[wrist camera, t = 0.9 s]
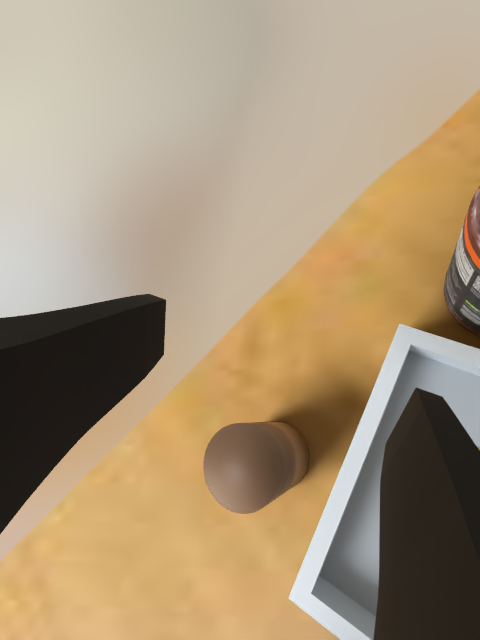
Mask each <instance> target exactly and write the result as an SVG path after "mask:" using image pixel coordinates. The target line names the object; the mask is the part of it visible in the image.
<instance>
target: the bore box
mask: <svg viewBox="0 0 480 640" xmlns="http://www.w3.org/2000/svg"><path fill="white" fill-rule="evenodd" d="M415 388H419V389H422V390H425V391H428V392H431V393H434V394H436V395H439V396H442V397H443V398H444V399H445V401H446V402H447V403H448V405H449V406H450V408H451V409H452V411H453V412H454V414H455V415H456V417H457V418H458V419H459V421H460V422H461V424H462V425H463V427H464V428H465V430H466V431H467V433H468V434H469V436H470V437H471V439H472V440H473V442H474V443H475V445H476V446H477V447H479V448H480V349H478V348H474V347H471V346H468V345H465V344H462V343H459V342H456V341H452V340H449V339H446V338H443V337H440V336H437V335H434V334H431V333H427V332H424V331H421V330H418V329H415V328H412V327H409V326H405V325H402V324H399V326H398V329H397V331H396V334H395V336H394V339H393V341H392V344H391V346H390V349H389V351H388V354H387V356H386V359H385V361H384V363H383V366H382V368H381V371H380V373H379V376H378V378H377V381H376V383H375V386H374V388H373V391H372V393H371V396H370V398H369V400H368V403H367V405H366V408H365V410H364V413H363V415H362V418H361V420H360V423H359V425H358V428H357V430H356V433H355V435H354V438H353V440H352V442H351V445H350V447H349V450H348V452H347V455H346V457H345V460H344V462H343V465H342V467H341V470H340V472H339V475H338V477H337V479H336V482H335V484H334V487H333V489H332V492H331V494H330V497H329V499H328V502H327V504H326V507H325V509H324V512H323V514H322V517H321V519H320V521H319V524H318V526H317V529H316V531H315V534H314V536H313V539H312V541H311V544H310V546H309V549H308V551H307V554H306V556H305V558H304V561H303V563H302V566H301V568H300V571H299V573H298V576H297V578H296V581H295V583H294V586H293V588H292V591H291V593H290V596H289V599H290V600H291V601H293V602H294V603H295V604H296V605H298V606H299V607H300V608H301V609H303V610H304V611H305V612H306V613H308V614H309V615H310V616H311V617H313V618H314V619H315V620H316V621H318V622H319V623H320V624H321V625H323V626H324V627H325V628H326V629H328V630H329V631H330V632H331V633H333V634H334V635H335V636H336V637H338V638H339V639H340V640H373V638H374V629H375V620H376V611H377V601H378V586H379V531H380V478H381V470H382V463H383V457H384V450H385V444H386V442H387V440H388V438H389V436H390V434H391V433H392V431H393V429H394V427H395V425H396V423H397V421H398V419H399V418H400V416H401V414H402V412H403V410H404V408H405V406H406V405H407V403H408V401H409V399H410V397H411V395H412V393H413V392H414V390H415Z"/></svg>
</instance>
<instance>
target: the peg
mask: <svg viewBox="0 0 480 640" xmlns="http://www.w3.org/2000/svg"><path fill="white" fill-rule="evenodd" d="M308 464H309V451H308V447H307V444H306V442H305V440H304V438H303V436H302V435H301V434H300V433H299V432H298V431H297V430H296V429H295V428H294V427H292V426H291V425H289V424H286V423H283V422H257V423H236V424H231V425H228V426H226V427H224V428H222V429H221V430H219V431H218V432H217V433H216V434H215V435H214V436H213V438H212V439H211V441H210V442H209V444H208V446H207V449H206V452H205V456H204V476H205V480H206V484H207V486H208V489H209V491H210V492H211V494H212V496H213V497H214V498H215V500H216V501H217V502H218V503H219V504H220V505H222V506H223V507H224V508H226V509H228V510H230V511H232V512H235V513H241V514H248V513H253V512H256V511H258V510H260V509H262V508H263V507H265V506H266V505H267V504H269V503H270V502H272V501H273V500H275V499H276V498H278V497H279V496H280V495H282V494H283V493H285V492H286V491H288V490H289V489H291V488H292V487H293V486H295V485H296V484H298V483H299V482H300V481H301V480H302V478H303V477H304V476H305V474H306V472H307V469H308Z"/></svg>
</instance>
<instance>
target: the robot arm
mask: <svg viewBox="0 0 480 640" xmlns="http://www.w3.org/2000/svg"><path fill="white" fill-rule="evenodd" d="M165 312H166V300H165V299H162V298H159V297H156V296H153V295H150V294H145V295H136V296H130V297H124V298H119V299H114V300H109V301H104V302H99V303H94V304H89V305H84V306H79V307H73V308H67V309H62V310H56V311H50V312H44V313H38V314H31V315H24V316H17V317H6V318H0V534H1V532H2V531H3V530H4V529H5V527H6V526H7V525H8V523H9V522H10V521H11V520H12V518H13V517H14V516H15V515H16V513H17V512H18V511H19V510H20V508H21V507H22V506H23V504H24V503H25V502H26V500H27V499H28V498H29V497H30V496H31V495H32V493H33V492H34V491H35V490H36V489H37V487H38V486H39V485H40V484H41V483H42V481H43V480H44V479H45V478H46V477H47V476H48V474H49V473H50V472H51V471H52V470H53V468H54V467H55V466H56V465H57V464H58V463H59V462H60V460H61V459H62V458H63V457H64V456H65V455H66V454H67V453H68V452H69V450H70V449H71V448H72V447H73V446H74V445H75V444H76V443H77V441H78V440H79V439H80V438H81V437H82V436H83V435H84V434H85V433H86V432H87V431H88V430H89V429H90V428H91V427H93V426H94V425H95V424H96V423H97V422H98V421H99V420H100V419H101V418H102V417H103V416H104V415H106V414H107V413H108V412H109V411H110V410H111V409H112V408H113V407H114V406H115V405H116V404H118V403H119V402H120V401H121V400H122V399H123V398H124V397H125V396H126V395H127V394H128V393H129V392H131V391H132V390H133V389H134V388H135V387H136V386H137V385H138V384H139V383H140V382H141V381H142V380H143V379H144V378H145V377H146V376H147V375H148V373H149V372H150V371H151V370H152V369H153V368H154V366H155V365H156V364H157V362H158V361H159V360H160V359H161V357H162V356H163V355H164V335H165ZM373 640H480V450H479V449H478V448H477V446H476V445H475V443H474V442H473V440H472V439H471V437H470V436H469V434H468V433H467V431H466V430H465V428H464V427H463V425H462V424H461V422H460V421H459V419H458V418H457V417H456V415H455V414H454V412H453V411H452V409H451V408H450V406H449V405H448V403H447V402H446V401H445V399H444V398H443V397H442V396H439V395H436V394H434V393H431V392H428V391H425V390H422V389H419V388H415V390H414V392H413V393H412V395H411V397H410V399H409V401H408V403H407V405H406V406H405V408H404V410H403V412H402V414H401V416H400V418H399V419H398V421H397V423H396V425H395V427H394V429H393V431H392V433H391V434H390V436H389V438H388V440H387V442H386V444H385V450H384V457H383V463H382V470H381V478H380V531H379V586H378V601H377V611H376V620H375V629H374V638H373Z"/></svg>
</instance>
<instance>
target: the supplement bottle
mask: <svg viewBox="0 0 480 640" xmlns="http://www.w3.org/2000/svg"><path fill="white" fill-rule="evenodd" d="M444 296H445V300H446V303H447V306H448V309H449V311H450V313H451V314H452V315H453V316H454V317H455V319H456V320H457V321H458V322H459V323H460V324H461V325H462V326H464V327H465V328H466V329H468V330H469V331H471V332H473V333H475V334H477V335H479V336H480V186H479V188H478V190H477V192H476V193H475V195H474V197H473V199H472V201H471V204H470V206H469V209H468V212H467V215H466V218H465V221H464V224H463V227H462V230H461V233H460V236H459V239H458V242H457V245H456V248H455V251H454V254H453V257H452V260H451V263H450V266H449V269H448V271H447V274H446V279H445V284H444Z"/></svg>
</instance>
